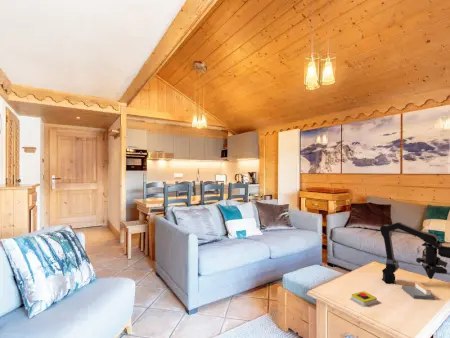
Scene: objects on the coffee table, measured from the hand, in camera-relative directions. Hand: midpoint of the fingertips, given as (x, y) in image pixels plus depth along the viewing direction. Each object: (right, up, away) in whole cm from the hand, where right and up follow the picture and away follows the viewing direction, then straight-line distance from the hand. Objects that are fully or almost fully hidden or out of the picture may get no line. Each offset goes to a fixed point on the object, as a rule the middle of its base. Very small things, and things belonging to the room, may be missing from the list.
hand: (430, 278), depth 157 cm
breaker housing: (-8, -10, +1) cm, 13 cm away
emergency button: (-46, -10, -8) cm, 48 cm away
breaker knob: (-4, -8, 0) cm, 9 cm away
